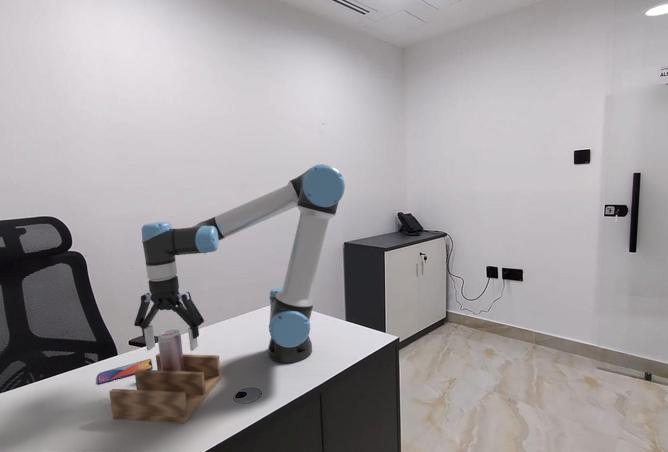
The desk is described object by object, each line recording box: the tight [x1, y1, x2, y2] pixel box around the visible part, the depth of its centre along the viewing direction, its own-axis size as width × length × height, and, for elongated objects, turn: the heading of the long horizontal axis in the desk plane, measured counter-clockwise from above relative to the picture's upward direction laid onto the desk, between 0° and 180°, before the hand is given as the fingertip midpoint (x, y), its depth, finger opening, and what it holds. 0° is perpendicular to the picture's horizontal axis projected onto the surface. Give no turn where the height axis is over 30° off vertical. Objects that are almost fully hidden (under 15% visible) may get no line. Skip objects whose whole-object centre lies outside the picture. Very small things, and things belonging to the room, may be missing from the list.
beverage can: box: [157, 329, 184, 371], centre depth 101 cm, size 6×6×15 cm
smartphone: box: [97, 358, 154, 385], centre depth 112 cm, size 7×15×1 cm, turn 121°
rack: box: [109, 353, 222, 424], centre depth 97 cm, size 20×20×8 cm
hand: (172, 348), depth 101 cm, fingers open, 13 cm apart
